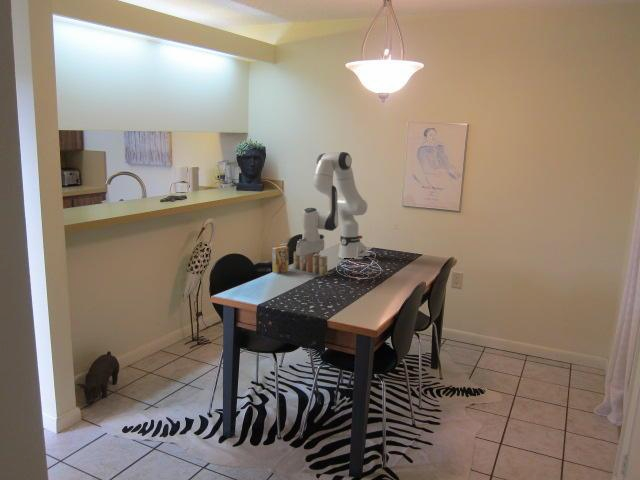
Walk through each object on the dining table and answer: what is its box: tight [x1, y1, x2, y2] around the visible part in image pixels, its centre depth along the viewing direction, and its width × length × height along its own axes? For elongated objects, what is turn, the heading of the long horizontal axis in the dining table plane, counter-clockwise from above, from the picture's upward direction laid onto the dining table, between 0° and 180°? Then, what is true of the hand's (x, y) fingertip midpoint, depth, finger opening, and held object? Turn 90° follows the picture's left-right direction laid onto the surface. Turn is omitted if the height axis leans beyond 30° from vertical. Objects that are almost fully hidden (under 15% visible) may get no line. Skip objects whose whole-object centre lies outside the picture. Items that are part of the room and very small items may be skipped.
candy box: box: [271, 245, 290, 274], centre depth 292 cm, size 9×4×15 cm, turn 130°
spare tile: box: [306, 253, 315, 272], centre depth 293 cm, size 5×2×10 cm, turn 138°
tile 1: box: [293, 251, 300, 269], centre depth 300 cm, size 5×2×10 cm, turn 138°
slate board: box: [289, 267, 333, 278], centre depth 294 cm, size 12×24×1 cm, turn 48°
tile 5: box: [319, 255, 328, 276], centre depth 287 cm, size 5×2×10 cm, turn 138°
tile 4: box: [313, 254, 322, 274], centre depth 290 cm, size 5×2×10 cm, turn 138°
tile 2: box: [300, 256, 306, 271], centre depth 296 cm, size 5×2×10 cm, turn 138°
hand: (310, 260), depth 293 cm, fingers open, 8 cm apart
